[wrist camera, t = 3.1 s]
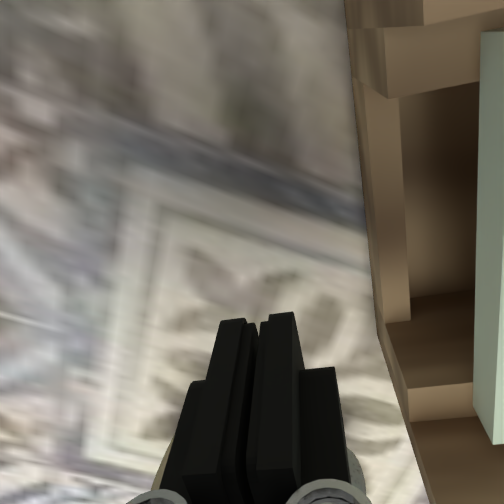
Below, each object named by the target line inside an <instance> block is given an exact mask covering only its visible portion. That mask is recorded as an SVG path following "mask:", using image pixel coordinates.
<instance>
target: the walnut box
mask: <svg viewBox="0 0 504 504" xmlns="http://www.w3.org/2000/svg"><path fill="white" fill-rule="evenodd" d="M344 4H345V14H346V24H347V34H348V45H349V55H350V65H351V75H352V85H353V95H354V105H355V115H356V125H357V135H358V145H359V155H360V165H361V176H362V186H363V196H364V206H365V216H366V226H367V236H368V246H369V256H370V266H371V276H372V286H373V296H374V307H375V317H376V327H377V335H378V339H379V342H380V345H381V348H382V351H383V355H384V358H385V361H386V364H387V368H388V371H389V374H390V377H391V380H392V384H393V387H394V390H395V393H396V396H397V400H398V403H399V406H400V409H401V412H402V416H403V419H404V422H405V425H406V428H407V432H408V435H409V438H410V441H411V444H412V448H413V451H414V454H415V457H416V461H417V464H418V467H419V470H420V473H421V477H422V480H423V483H424V486H425V489H426V493H427V496H428V499H429V502H430V504H504V444H496V445H493V444H492V442H491V440H490V438H489V437H488V435H487V433H486V431H485V429H484V427H483V425H482V423H481V421H480V419H479V417H478V415H477V413H476V411H475V409H474V407H473V369H474V323H475V278H476V232H477V186H478V140H479V95H480V49H481V32H482V31H487V30H492V29H496V28H501V27H504V0H344Z"/></svg>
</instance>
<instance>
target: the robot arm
mask: <svg viewBox="0 0 504 504" xmlns="http://www.w3.org/2000/svg"><path fill="white" fill-rule="evenodd" d="M126 504H372V503H371V501H370V499H369V498H368V497H367V496H366V495H365V494H364V493H363V492H362V491H361V490H360V489H358V488H356V487H355V486H353V485H352V484H351V477H350V469H349V462H348V454H347V447H346V440H345V432H344V425H343V418H342V411H341V404H340V398H339V391H338V385H337V379H336V372H335V367H325V368H315V369H306V370H305V367H304V362H303V357H302V352H301V347H300V341H299V336H298V331H297V326H296V321H295V316H294V313H293V312H285V313H277V314H270V315H269V319H268V321H264V322H261V324H260V332H259V336H258V332H257V328H256V325H255V323H248V324H247V321H246V319H245V318H237V319H230V320H222V321H221V322H220V325H219V329H218V332H217V336H216V340H215V344H214V348H213V352H212V356H211V360H210V364H209V368H208V372H207V376H206V380H200V381H193V382H192V383H191V384H190V386H189V389H188V392H187V395H186V399H185V402H184V405H183V409H182V412H181V416H180V419H179V422H178V426H177V429H176V432H175V436H174V439H173V442H172V446H171V449H170V453H169V456H168V459H167V463H166V466H165V469H164V473H163V476H162V480H161V483H160V486H159V490H151V491H148V492H146V493H143V494H140V495H138V496H137V497H135V498H134V499H132V500H131V501H129V502H127V503H126Z"/></svg>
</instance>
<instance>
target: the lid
mask: <svg viewBox="0 0 504 504" xmlns="http://www.w3.org/2000/svg"><path fill="white" fill-rule="evenodd" d="M473 407H474V409H475V411H476V413H477V415H478V417H479V419H480V421H481V423H482V425H483V427H484V429H485V431H486V433H487V435H488V437H489V438H490V440H491V442H492V444H493V445H496V444H504V27H501V28H496V29H492V30H487V31H482V32H481V49H480V95H479V140H478V186H477V232H476V278H475V323H474V369H473Z"/></svg>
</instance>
